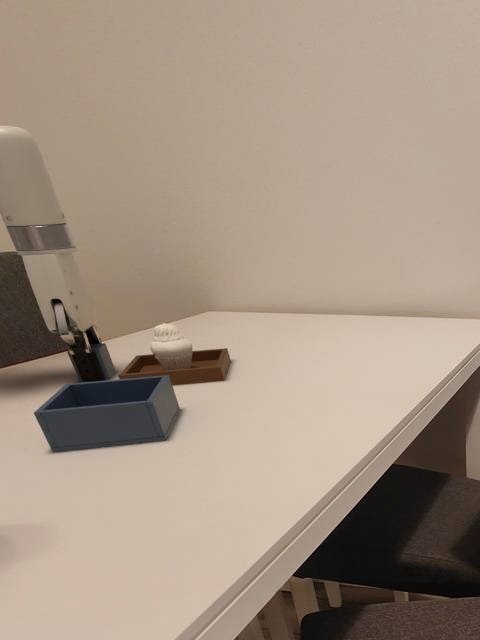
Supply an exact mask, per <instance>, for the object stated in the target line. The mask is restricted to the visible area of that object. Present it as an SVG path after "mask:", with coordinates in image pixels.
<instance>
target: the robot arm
mask: <svg viewBox="0 0 480 640" xmlns="http://www.w3.org/2000/svg"><path fill="white" fill-rule="evenodd" d="M46 166H47V165H46V164H45V161H44V159H43V156H42V153H41V150H40V148H39V145H38V143H37V141H36V139H35V137H34V136H33V135H32V133H31V132H29V131H28V130H27V129H26V128H23V127H20V126H14V125H0V216H1V218H2V221H3V223H4V225H5V227H6V231H7V233H8V235H9V237H10V239H11V241H12V242H11V243H12V244H13V246H14V249H15V250H16V254H17V256H21V257H22V261H23V265H24V268H25V271H26V276H27V278H28V281H29V283H30V286H31V289H32V292H33V294H34V298H35V299H36V302H37V305H38V307H39V311H40V313H41V315H42V319H43V320H44V323H45V326H46V328H47V329H48V331H49V332H50V333H52V334H59V337H60V339H62V340H63V341H64V343H65V345H66V346H67V349H68V351H69V352H70V354H71V355H72V358H73V360H74V362H75V365H76V367H77V370H78V372H79V374H80V377H81V379H82V381H84V382H95V381H105V380H104V379H105V377H104V374H103V372H102V369H101V367H100V364H99V362H98V359H97V357H96V354H95V352H92V351H91V348H90V345H91V344H103V341H102V339H101V336H100V334H99V332H98V329H97V326H96V323H97V322H98V313H97V309H96V307H95V304H94V301H93V299H92V296H91V293H90V291H89V289H88V286H87V284H86V281H85V278H84V276H83V274H82V272H81V270H80V267H79V265H78V262H77V260H76V258H75V256H74V254H73V253H75V252H78V248H77V246H76V243H75V240H74V238H73V235H72V233H71V230H70V227H69V224H68V222H67V219H66V216H65V213H64V211H63V208H62V206H61V204H60V200H59V198H58V195H57V193H56V190H55V188H54V185H53V183H52V180H51V177H50V174H49V172H48V169H47V167H46ZM72 328H73V329H74V330H72Z"/></svg>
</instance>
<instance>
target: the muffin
mask: <svg viewBox="0 0 480 640" xmlns="http://www.w3.org/2000/svg"><path fill="white" fill-rule="evenodd" d="M153 333H154V336H153V340H152V341H151V343H150V347H149V349H150V351H151V354H154V355H155V358H156V359H157V360H158V361H159V362H160V363H161V364H162V365H163V367H164V368H165V369H166V370H178V369H190V365H191V360H192V354H193V353H192V351H193V344H192V342H191V341H190V340H189V339H188V338H186V337H185V336H184V335H183V334H182V333H181V331H180V329H179V328H178V326H176V325H174V324H172V323H165V322H162V323H161V324H158V325H155V328H154V329H153Z"/></svg>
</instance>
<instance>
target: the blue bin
mask: <svg viewBox="0 0 480 640" xmlns="http://www.w3.org/2000/svg"><path fill="white" fill-rule="evenodd" d="M173 386H174V385H173ZM173 386H172V383H171V380H170V377H169V375H164V376H153V377H141V378H130V379H119V378H118V379H110V380H102V381H90V382H71V383H65V384H64V385H63V386H62V387H61V388H59V389H58V390H57V391H56V392H55V393H54V394H53V395H51V397H50V398H48V399H47V400H46V401H45V402H44V403H43V404H42V405H41V406H39V407H38V408H37V409H36V410H35V411H34V412H33V415H34V417H35V419H36V422H37V423H38V426H39V427H40V429H41V431H42V434H43V435H44V437H45V440H46V441H47V444H48V445H49V448H50V449H51V452H52V453H53V454H54V453H61V452H72V451H82V450H90V449H91V450H92V449H93V450H94V449H101V448H111V447H119V446H131V445H139V444H147V443H157V442H158V443H159V442H167V441H168V438H169V436H170V434H171V432H172V429H173V427H174V426H175V423H176V421H177V419H178V417H179V415H180V413H181V408H180V405H179V401H178V399H177V396H176V392H175V388H174V387H173Z"/></svg>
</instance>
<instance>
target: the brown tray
mask: <svg viewBox="0 0 480 640" xmlns="http://www.w3.org/2000/svg"><path fill="white" fill-rule="evenodd" d="M192 353H193V354H192V360H191V365H190V369H178V370H166V369H165V368H164V367H163V365H162V364H161V363H160V362H159V361H158V360H157V359H156V358H155V355H154V354H153V353H150V354H138V355H135V356H134V358H132V360H131V361H129V363H128V364H127V365H126V367H125V368H124V369H123V370H122V371H121V372H120V373H119V374H118V379H130V378H141V377H153V376H164V375H169V377H170V380H171V383H172V386H184V385H194V384H196V385H197V384H206V383H216V382H225V380H226V377H227V374H228V371H229V368H230V365H231V362H232V360H231V357H230V352H229V349H228V347H225V348H212V349H202V350H192Z"/></svg>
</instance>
